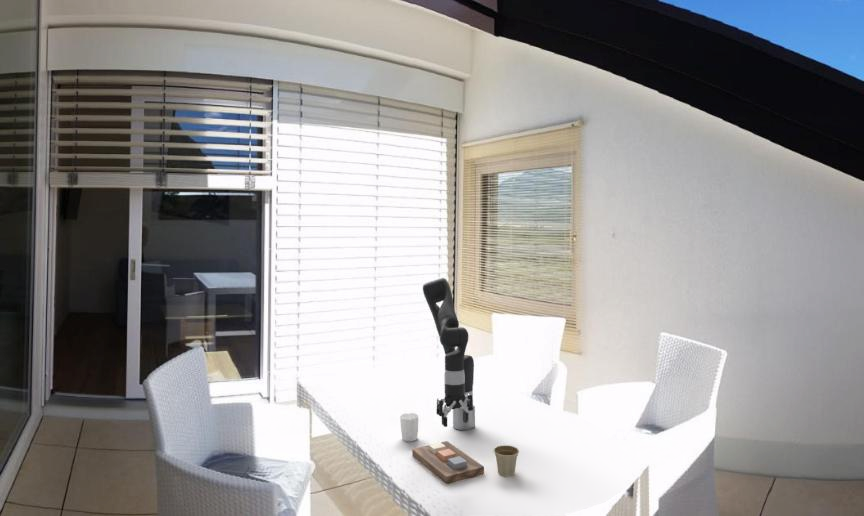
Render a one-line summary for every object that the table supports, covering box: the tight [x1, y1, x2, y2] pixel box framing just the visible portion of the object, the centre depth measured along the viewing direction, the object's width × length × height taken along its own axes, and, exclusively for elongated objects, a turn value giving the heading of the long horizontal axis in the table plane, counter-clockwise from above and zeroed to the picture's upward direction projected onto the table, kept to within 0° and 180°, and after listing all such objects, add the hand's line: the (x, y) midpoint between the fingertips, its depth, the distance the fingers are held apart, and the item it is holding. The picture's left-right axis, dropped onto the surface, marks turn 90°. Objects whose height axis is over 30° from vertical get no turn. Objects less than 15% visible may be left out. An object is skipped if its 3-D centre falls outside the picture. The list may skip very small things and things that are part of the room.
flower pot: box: [493, 444, 520, 477], centre depth 209 cm, size 9×9×9 cm
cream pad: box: [427, 441, 446, 454], centre depth 224 cm, size 5×5×3 cm
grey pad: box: [448, 456, 467, 470], centre depth 210 cm, size 5×5×3 cm
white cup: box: [399, 412, 419, 442], centre depth 244 cm, size 8×8×10 cm
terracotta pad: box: [438, 449, 456, 462], centre depth 217 cm, size 5×5×3 cm
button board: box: [411, 440, 485, 486], centre depth 217 cm, size 16×28×3 cm, turn 28°
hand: (455, 424), depth 209 cm, fingers open, 8 cm apart
